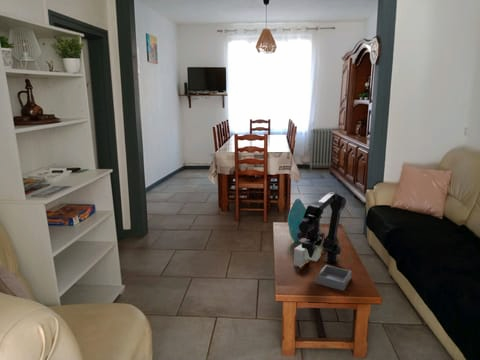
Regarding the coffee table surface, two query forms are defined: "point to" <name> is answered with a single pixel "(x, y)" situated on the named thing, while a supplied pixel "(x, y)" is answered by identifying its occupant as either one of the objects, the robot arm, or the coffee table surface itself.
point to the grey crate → (334, 277)
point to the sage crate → (314, 254)
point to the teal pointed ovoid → (296, 218)
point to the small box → (299, 255)
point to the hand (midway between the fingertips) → (312, 254)
